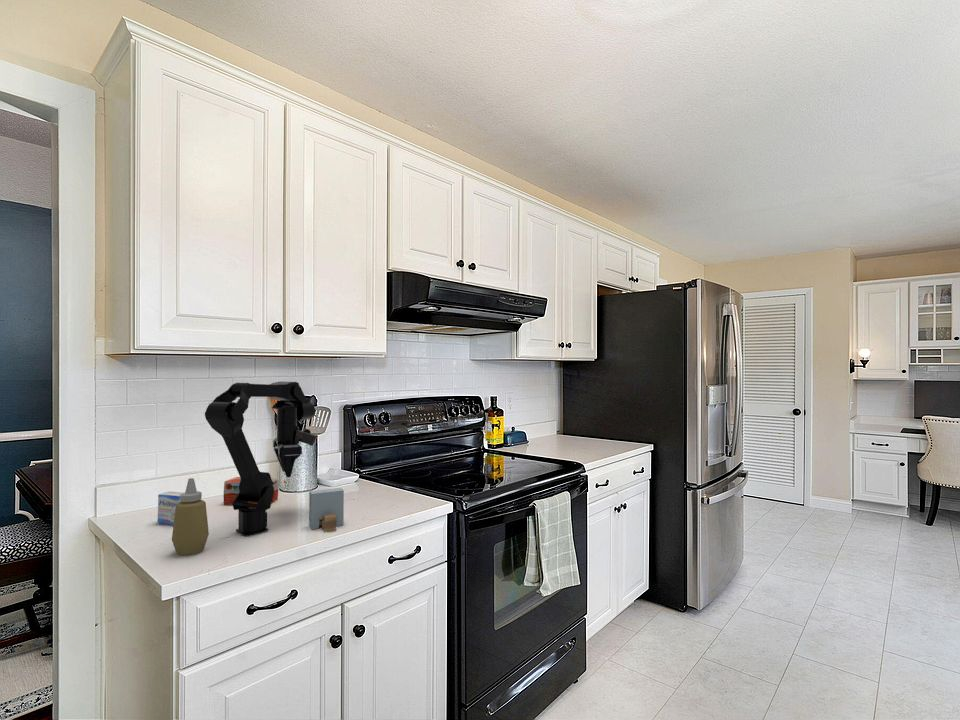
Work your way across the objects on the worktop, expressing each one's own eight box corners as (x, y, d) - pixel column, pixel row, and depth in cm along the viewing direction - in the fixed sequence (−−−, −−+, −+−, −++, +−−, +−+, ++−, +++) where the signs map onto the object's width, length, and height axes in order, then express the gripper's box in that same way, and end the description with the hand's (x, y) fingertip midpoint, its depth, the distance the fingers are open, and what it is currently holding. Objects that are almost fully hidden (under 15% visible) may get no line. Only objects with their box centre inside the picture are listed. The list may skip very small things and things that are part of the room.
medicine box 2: (278, 499, 177) (278, 476, 177) (268, 506, 169) (268, 482, 169) (234, 499, 177) (234, 476, 177) (222, 506, 169) (222, 481, 169)
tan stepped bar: (336, 530, 144) (336, 516, 144) (325, 532, 143) (325, 517, 143) (327, 519, 155) (327, 505, 155) (317, 520, 153) (317, 507, 153)
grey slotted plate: (311, 529, 145) (311, 493, 145) (309, 525, 148) (309, 491, 148) (343, 525, 149) (343, 490, 149) (340, 521, 152) (341, 487, 152)
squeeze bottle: (173, 560, 122) (174, 484, 122) (169, 550, 129) (170, 477, 129) (211, 553, 127) (212, 479, 127) (206, 543, 133) (206, 473, 133)
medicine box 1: (156, 524, 149) (157, 494, 149) (169, 519, 153) (169, 490, 153) (179, 526, 147) (180, 496, 147) (191, 522, 151) (192, 492, 152)
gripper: (320, 424, 152) (319, 477, 152) (309, 418, 169) (309, 466, 169) (279, 426, 147) (279, 481, 147) (272, 420, 164) (272, 469, 164)
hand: (286, 474), depth 157 cm, fingers open, 9 cm apart
